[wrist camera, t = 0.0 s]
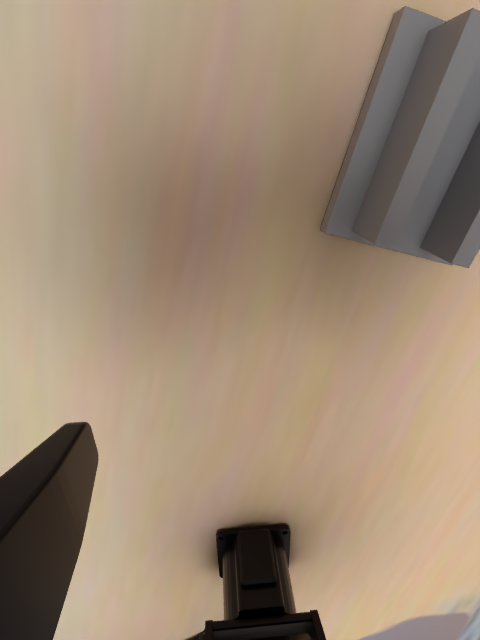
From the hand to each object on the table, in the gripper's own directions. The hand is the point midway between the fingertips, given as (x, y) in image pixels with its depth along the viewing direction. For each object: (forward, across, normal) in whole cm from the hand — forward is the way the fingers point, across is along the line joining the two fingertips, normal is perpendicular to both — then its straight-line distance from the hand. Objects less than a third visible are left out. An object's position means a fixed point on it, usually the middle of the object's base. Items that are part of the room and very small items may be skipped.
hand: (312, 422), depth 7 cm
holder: (+15, -9, -4) cm, 18 cm away
